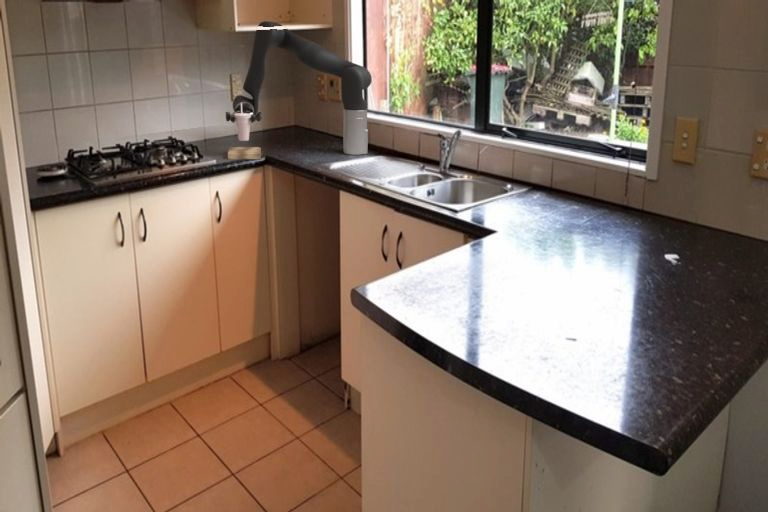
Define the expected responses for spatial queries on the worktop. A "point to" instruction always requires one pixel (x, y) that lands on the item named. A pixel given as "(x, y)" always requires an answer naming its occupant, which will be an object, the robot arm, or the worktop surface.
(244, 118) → the smoothie
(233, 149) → the board
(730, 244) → the worktop surface
